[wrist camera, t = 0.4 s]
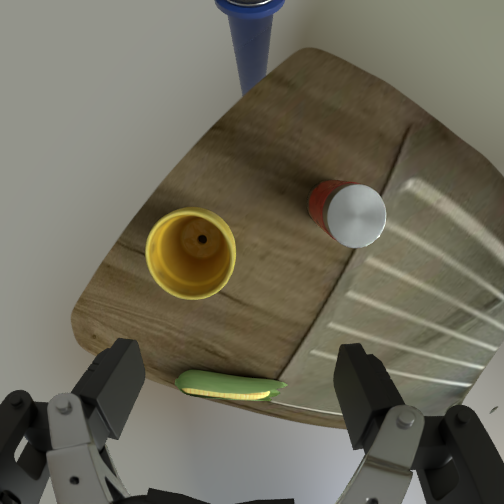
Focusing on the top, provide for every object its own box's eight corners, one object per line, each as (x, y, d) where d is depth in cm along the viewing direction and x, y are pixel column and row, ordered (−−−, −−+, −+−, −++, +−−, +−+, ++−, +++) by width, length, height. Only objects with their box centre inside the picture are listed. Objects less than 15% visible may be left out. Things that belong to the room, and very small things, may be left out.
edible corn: (178, 362, 45) (172, 378, 41) (290, 373, 46) (292, 390, 41) (179, 382, 47) (174, 398, 42) (285, 392, 47) (287, 409, 43)
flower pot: (255, 240, 39) (254, 262, 30) (202, 284, 41) (188, 316, 32) (205, 185, 37) (189, 189, 28) (154, 233, 39) (127, 252, 30)
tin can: (295, 202, 38) (312, 215, 26) (330, 169, 36) (360, 169, 25) (327, 237, 39) (353, 262, 28) (360, 205, 37) (398, 218, 26)
